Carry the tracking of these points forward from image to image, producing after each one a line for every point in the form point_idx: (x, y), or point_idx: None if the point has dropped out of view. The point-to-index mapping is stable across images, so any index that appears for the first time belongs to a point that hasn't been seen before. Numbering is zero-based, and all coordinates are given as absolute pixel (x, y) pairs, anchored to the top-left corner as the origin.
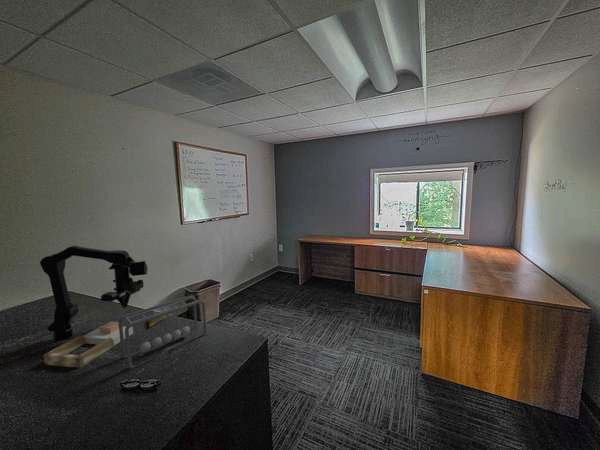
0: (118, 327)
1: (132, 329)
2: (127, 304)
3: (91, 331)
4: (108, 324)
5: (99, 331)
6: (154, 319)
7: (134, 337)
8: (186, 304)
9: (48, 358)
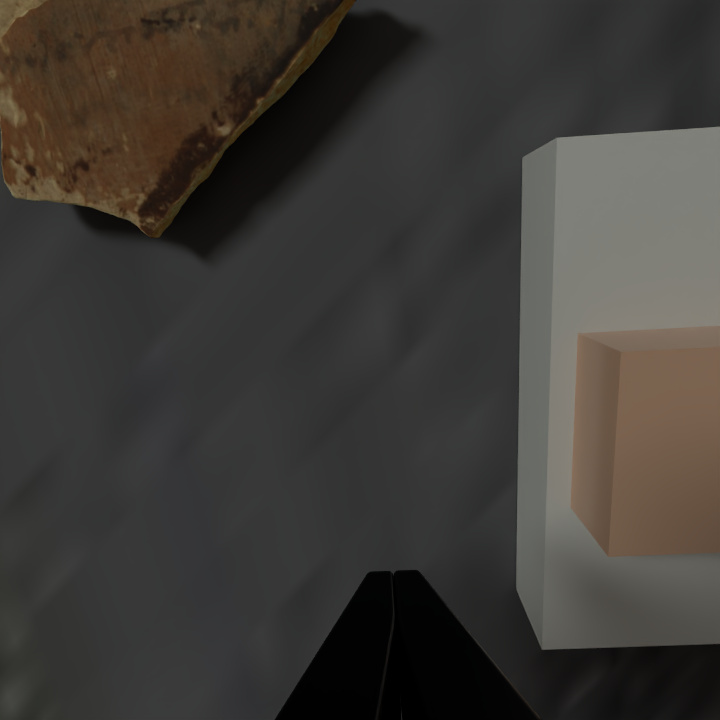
0: (644, 335)
1: (550, 144)
2: (343, 614)
3: (717, 641)
4: (711, 502)
5: None
6: (186, 37)
7: (626, 27)
8: None
9: None
